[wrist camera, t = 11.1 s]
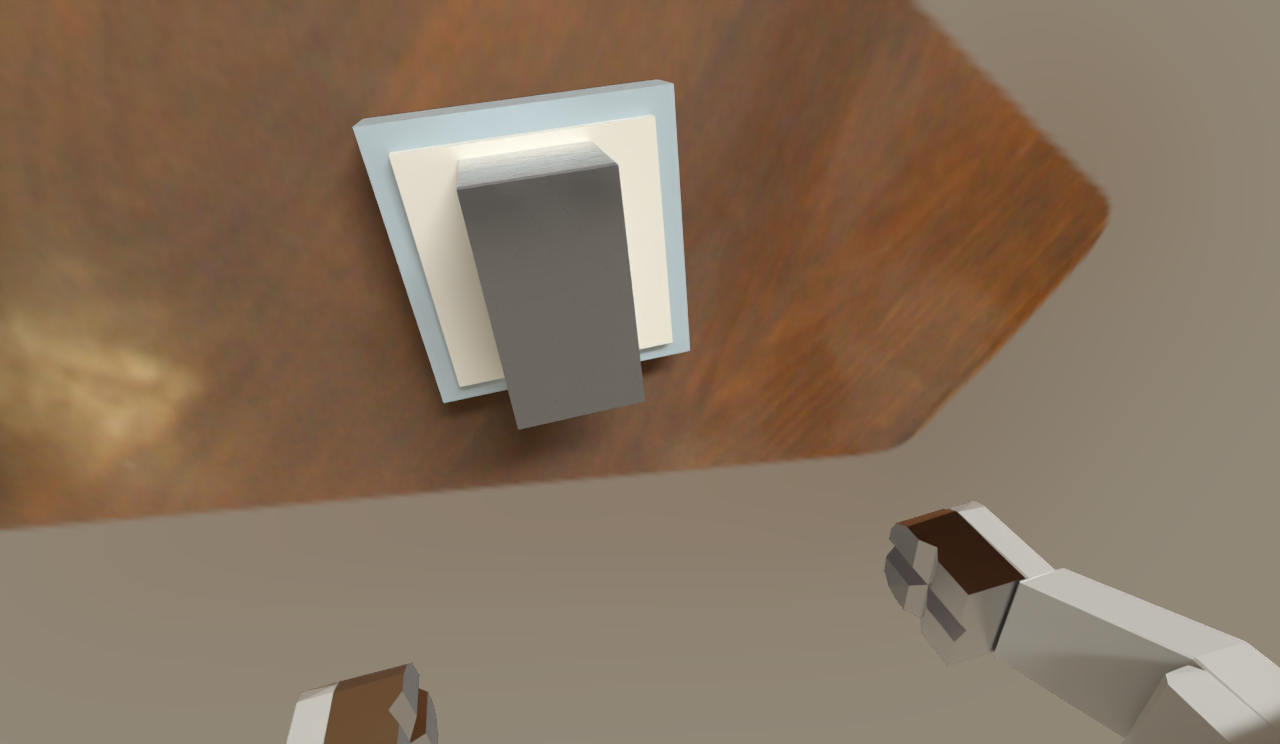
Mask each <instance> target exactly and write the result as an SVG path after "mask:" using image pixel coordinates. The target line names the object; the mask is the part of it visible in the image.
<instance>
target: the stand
mask: <svg viewBox="0 0 1280 744" xmlns="http://www.w3.org/2000/svg"><path fill="white" fill-rule="evenodd" d="M353 130H354V133H355V136H356V139H357V142H358V145H359V148H360V151H361V154H362V157H363V160H364V163H365V166H366V169H367V172H368V175H369V178H370V181H371V185H372V188H373V191H374V194H375V197H376V200H377V203H378V206H379V209H380V212H381V215H382V218H383V221H384V224H385V227H386V230H387V233H388V236H389V239H390V242H391V245H392V248H393V251H394V254H395V257H396V260H397V263H398V266H399V269H400V272H401V276H402V279H403V282H404V285H405V288H406V291H407V294H408V297H409V300H410V303H411V306H412V309H413V312H414V315H415V318H416V321H417V324H418V327H419V330H420V333H421V336H422V339H423V342H424V345H425V348H426V351H427V354H428V357H429V360H430V364H431V367H432V370H433V373H434V376H435V379H436V382H437V385H438V388H439V391H440V394H441V397H442V400H443V403H447V402H452V401H456V400H461V399H466V398H470V397H475V396H480V395H484V394H489V393H494V392H498V391H503V390H508V389H507V385H506V381H505V377H504V373H503V369H502V365H501V361H500V357H499V354H498V350H497V346H496V342H495V338H494V334H493V330H492V326H491V322H490V319H489V315H488V311H487V307H486V303H485V299H484V295H483V291H482V287H481V284H480V280H479V276H478V272H477V268H476V264H475V260H474V256H473V252H472V249H471V245H470V241H469V237H468V233H467V229H466V225H465V221H464V218H463V214H462V210H461V206H460V202H459V198H458V194H457V177H458V165H459V160H462V159H468V158H475V157H482V156H488V155H495V154H502V153H508V152H515V151H522V150H529V149H535V148H542V147H549V146H555V145H562V144H569V143H576V142H582V141H589V140H591V141H592V142H593V143H594V144H595V145H597V146H598V147H599V148H600V149H601V150H602V151H603V152H604V153H606V154H607V155H608V156H609V157H610V158H611V159H612V160H614V161H615V162H616V163H617V164H618V166H619V175H620V184H621V192H622V201H623V210H624V219H625V228H626V237H627V245H628V254H629V263H630V272H631V281H632V290H633V298H634V307H635V316H636V325H637V334H638V343H639V351H640V360H641V361H644V360H649V359H653V358H658V357H663V356H667V355H672V354H677V353H681V352H686V351H690V342H689V326H688V310H687V293H686V277H685V261H684V245H683V228H682V212H681V196H680V180H679V163H678V147H677V131H676V115H675V98H674V83H670V82H666V81H662V80H658V79H656V80H649V81H641V82H634V83H626V84H619V85H611V86H604V87H597V88H589V89H582V90H574V91H567V92H559V93H552V94H544V95H537V96H530V97H522V98H515V99H507V100H500V101H492V102H485V103H477V104H470V105H462V106H455V107H448V108H440V109H433V110H425V111H418V112H410V113H403V114H395V115H388V116H380V117H373V118H366V119H362V120H361V121H360V122H358V123H357V124H356V125H355V126H353Z"/></svg>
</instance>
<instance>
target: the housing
mask: <svg viewBox="0 0 1280 744" xmlns="http://www.w3.org/2000/svg"><path fill="white" fill-rule="evenodd" d="M457 194H458V198H459V202H460V206H461V210H462V214H463V218H464V221H465V225H466V229H467V233H468V237H469V241H470V245H471V249H472V252H473V256H474V260H475V264H476V268H477V272H478V276H479V280H480V284H481V287H482V291H483V295H484V299H485V303H486V307H487V311H488V315H489V319H490V322H491V326H492V330H493V334H494V338H495V342H496V346H497V350H498V354H499V357H500V361H501V365H502V369H503V373H504V377H505V381H506V385H507V389H508V392H509V396H510V400H511V404H512V408H513V412H514V416H515V420H516V423H517V427H518V430H520V429H524V428H529V427H533V426H537V425H542V424H546V423H551V422H555V421H560V420H564V419H569V418H573V417H577V416H582V415H586V414H591V413H595V412H600V411H604V410H609V409H613V408H617V407H622V406H626V405H631V404H635V403H640V402H644V401H645V395H644V387H643V378H642V369H641V360H640V351H639V343H638V334H637V325H636V316H635V307H634V298H633V290H632V281H631V272H630V263H629V254H628V245H627V237H626V228H625V219H624V210H623V201H622V192H621V184H620V175H619V166H618V164H617V163H616V162H615V161H614V160H612V159H611V158H610V157H609V156H608V155H607V154H606V153H604V152H603V151H602V150H601V149H600V148H599V147H598V146H597V145H595V144H594V143H593V142H592V141H591V140H589V141H582V142H576V143H569V144H562V145H555V146H549V147H542V148H535V149H529V150H522V151H515V152H508V153H502V154H495V155H488V156H482V157H475V158H468V159H462V160H459V165H458V177H457Z"/></svg>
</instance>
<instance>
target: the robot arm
mask: <svg viewBox="0 0 1280 744" xmlns="http://www.w3.org/2000/svg"><path fill="white" fill-rule="evenodd" d="M889 540H890V541H891V542H892V543H893V544H894V546H895V547H894V548H893V549H892V550H891V552H890V553H889V554H888V555H887V557H886V562H885V570H884V571H885V574H886V578H887V582H888V586H889V588H890V590H891V592H892V593H893V595H894V597H895V599H896V600H897V601H898V603H899V604H900V605H901V606H902V608H903V610H905V611H907V612H909V613H911V614H913V615H914V616H916V617H918V618H920V625H921V633H922V634H923V636H924V637H925V638H926V640H927V641H928V642H929V644H930V645H931V646H932V648H933V649H934V650H935V651H936V653H937V654H938V655H939V657H940V658H941V659H942V661H943V662H944V663H945V664H946V666H947V667H948V666H952V665H955V664H958V663H962V662H965V661H969V660H972V659H975V658H979V657H981V656H985V655H988V654H992V653H994V655H993V656H994V657H995V658H997V659H999V660H1000V661H1002V662H1004V663H1005V664H1007V665H1008V666H1010V667H1011V668H1013V669H1015V670H1016V671H1018V672H1019V673H1021V674H1023V675H1024V676H1026V677H1027V678H1029V679H1031V680H1032V681H1034V682H1035V683H1037V684H1039V685H1040V686H1042V687H1043V688H1045V689H1047V690H1048V691H1050V692H1051V693H1053V694H1055V695H1056V696H1058V697H1060V698H1061V699H1063V700H1064V701H1066V702H1068V703H1069V704H1071V705H1072V706H1074V707H1075V708H1077V709H1079V710H1080V711H1082V712H1083V713H1085V714H1087V715H1088V716H1090V717H1091V718H1093V719H1095V720H1096V721H1098V722H1100V723H1101V724H1103V725H1104V726H1106V727H1108V728H1109V729H1111V730H1112V731H1114V732H1116V733H1117V734H1119V735H1120V736H1122V737H1123V738H1125V739H1124V741H1123V742H1122V744H1280V668H1279V667H1278V666H1276V665H1275V664H1274V663H1273V662H1271V661H1270V660H1269V659H1268V658H1266V657H1265V656H1264V655H1262V654H1261V653H1260V652H1258V651H1257V650H1256V649H1255V648H1253V647H1252V646H1251V645H1250V644H1248V643H1247V642H1245V641H1243V640H1240V639H1238V638H1235V637H1233V636H1230V635H1228V634H1225V633H1223V632H1220V631H1218V630H1215V629H1213V628H1210V627H1208V626H1206V625H1203V624H1201V623H1198V622H1196V621H1193V620H1191V619H1188V618H1186V617H1183V616H1181V615H1178V614H1176V613H1173V612H1171V611H1168V610H1166V609H1163V608H1161V607H1158V606H1156V605H1154V604H1151V603H1149V602H1146V601H1144V600H1141V599H1139V598H1136V597H1134V596H1131V595H1129V594H1126V593H1124V592H1121V591H1119V590H1116V589H1114V588H1111V587H1109V586H1106V585H1104V584H1102V583H1099V582H1097V581H1094V580H1092V579H1089V578H1087V577H1084V576H1082V575H1079V574H1076V573H1074V572H1072V571H1069V570H1067V569H1064V568H1060V569H1057V570H1054V569H1053V568H1052V567H1051V566H1050V565H1049V564H1048V563H1047V562H1045V561H1044V560H1043V559H1042V558H1041V557H1040V556H1039V555H1038V554H1037V553H1036V552H1035V551H1033V550H1032V549H1031V548H1030V547H1029V546H1028V545H1027V544H1026V543H1025V542H1023V541H1022V540H1021V539H1020V538H1019V537H1018V536H1017V535H1016V534H1014V533H1013V532H1012V531H1011V530H1010V529H1009V528H1008V527H1007V526H1006V525H1005V524H1003V523H1002V522H1001V521H1000V520H999V519H998V518H997V517H996V516H995V515H993V514H992V513H991V512H990V511H989V510H988V509H987V508H986V507H985V506H983V505H982V504H979V503H977V502H975V501H973V502H968V503H965V504H961V505H958V506H955V507H951V508H948V509H942V510H938V511H935V512H932V513H928V514H925V515H922V516H919V517H915V518H912V519H909V520H905V521H902V522H899V523H896V524H895V525H894V526H893V527H892V528H891V532H890V537H889ZM418 687H419V674H418V672H417V670H416V669H415V667H414V665H413V663H409V664H405V665H401V666H398V667H393V668H390V669H386V670H382V671H378V672H374V673H371V674H367V675H363V676H359V677H355V678H352V679H348V680H344V681H340V682H336V683H332V684H329V685H326V686H322V687H319V688H315V689H311V690H308V691H304V692H303V693H302V695H301V697H300V698H299V700H298V702H297V704H296V705H295V709H294V713H293V717H292V720H291V725H290V728H289V733H288V736H287V741H286V744H438V730H437V721H436V713H435V710H434V706H433V703H432V700H431V698H430V696H429V694H428V692H426V691H424V690H421V689H419V688H418Z"/></svg>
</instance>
